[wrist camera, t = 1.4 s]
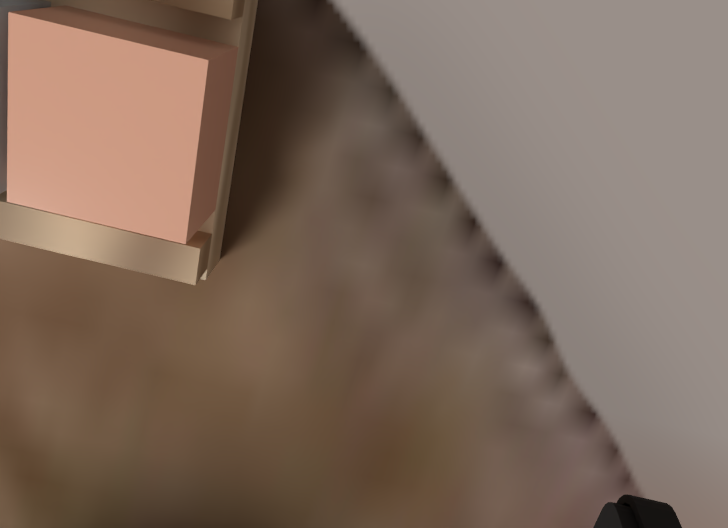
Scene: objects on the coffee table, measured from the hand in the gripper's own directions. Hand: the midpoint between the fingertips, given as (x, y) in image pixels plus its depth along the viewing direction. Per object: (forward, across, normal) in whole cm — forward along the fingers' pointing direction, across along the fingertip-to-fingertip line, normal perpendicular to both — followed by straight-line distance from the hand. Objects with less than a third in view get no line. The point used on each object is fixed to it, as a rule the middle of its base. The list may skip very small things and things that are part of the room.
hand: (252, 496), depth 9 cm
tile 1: (+17, +8, 0) cm, 19 cm away
